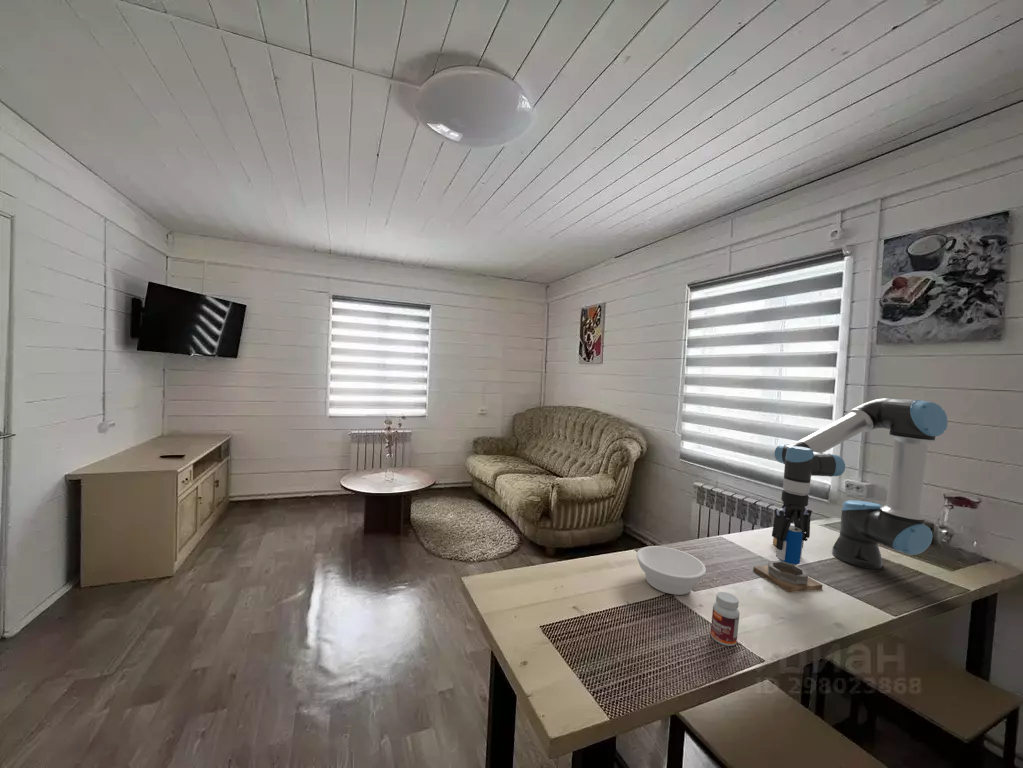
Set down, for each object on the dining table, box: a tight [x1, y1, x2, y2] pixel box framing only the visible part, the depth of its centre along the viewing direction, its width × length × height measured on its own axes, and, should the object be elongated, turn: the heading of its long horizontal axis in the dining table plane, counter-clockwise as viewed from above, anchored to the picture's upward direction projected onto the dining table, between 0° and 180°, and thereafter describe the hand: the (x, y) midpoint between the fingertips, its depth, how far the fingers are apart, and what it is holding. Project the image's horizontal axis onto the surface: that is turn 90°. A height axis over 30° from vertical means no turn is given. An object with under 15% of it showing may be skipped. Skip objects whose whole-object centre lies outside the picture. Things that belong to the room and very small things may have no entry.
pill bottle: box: [710, 591, 740, 647], centre depth 106 cm, size 6×6×11 cm
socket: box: [753, 559, 823, 593], centre depth 141 cm, size 14×14×4 cm
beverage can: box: [776, 525, 803, 566], centre depth 140 cm, size 6×6×12 cm
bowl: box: [636, 545, 707, 596], centre depth 132 cm, size 21×21×8 cm
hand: (788, 557), depth 140 cm, fingers closed on beverage can, 6 cm apart
